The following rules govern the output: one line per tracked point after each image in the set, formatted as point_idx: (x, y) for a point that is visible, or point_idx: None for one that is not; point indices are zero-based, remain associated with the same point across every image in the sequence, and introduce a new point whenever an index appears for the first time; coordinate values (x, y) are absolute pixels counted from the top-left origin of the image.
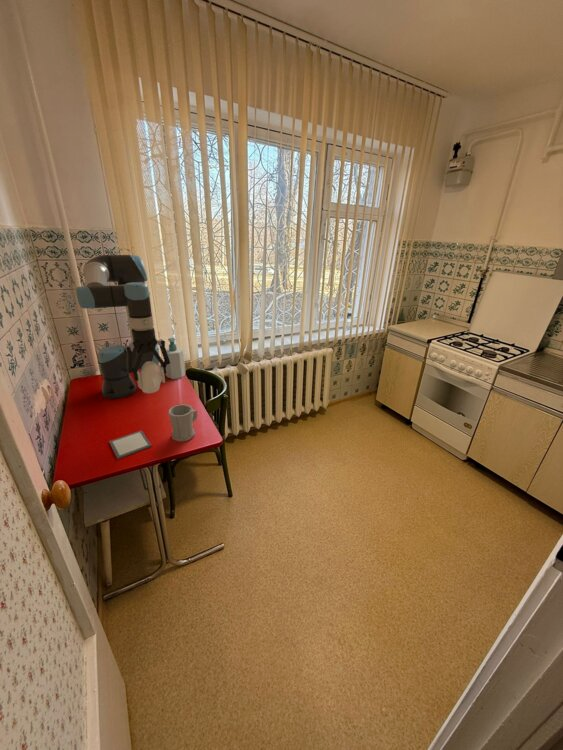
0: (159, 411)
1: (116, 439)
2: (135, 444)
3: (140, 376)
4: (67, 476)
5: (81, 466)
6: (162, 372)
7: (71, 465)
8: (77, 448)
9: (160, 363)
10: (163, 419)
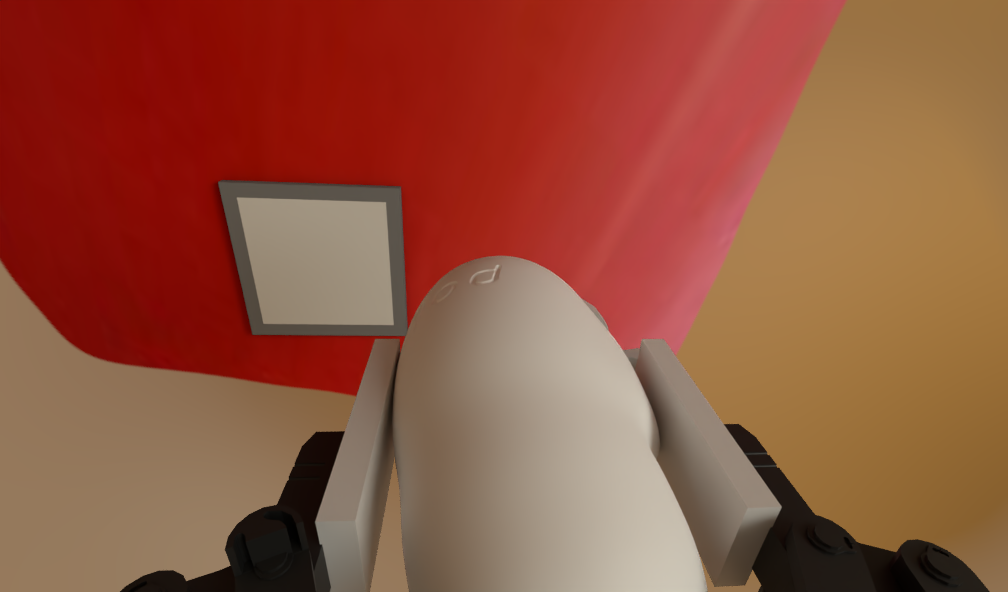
0: (573, 16)
1: (258, 191)
2: (342, 289)
3: (396, 468)
4: (48, 317)
5: (98, 288)
6: (687, 512)
7: (47, 255)
8: (44, 122)
9: (795, 571)
10: (547, 141)
